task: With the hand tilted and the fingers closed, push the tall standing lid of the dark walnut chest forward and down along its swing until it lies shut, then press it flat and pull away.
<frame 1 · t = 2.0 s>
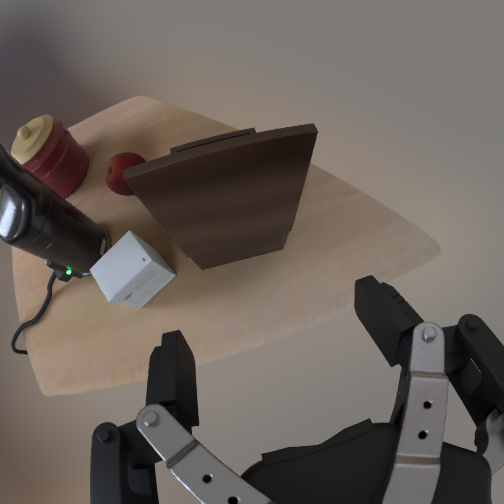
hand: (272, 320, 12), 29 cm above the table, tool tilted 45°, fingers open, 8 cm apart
chest: (229, 210, 44), on the table
apple: (136, 184, 46), on the table
lid: (231, 207, 25), point 18 cm above the table, hinge at 88.0°
kitchen canister: (67, 174, 48), on the table
small box: (149, 279, 42), on the table
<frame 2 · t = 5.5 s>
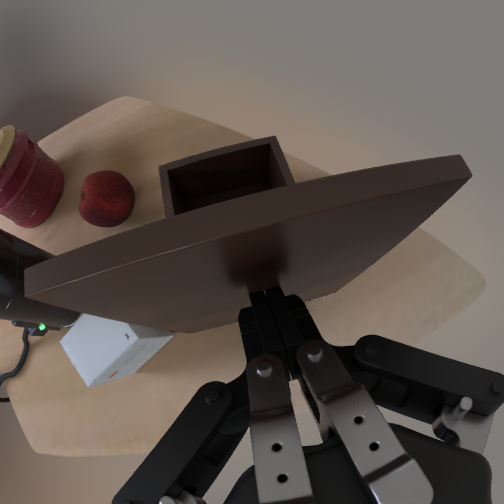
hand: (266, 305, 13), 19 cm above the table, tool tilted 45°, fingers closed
chest: (241, 247, 34), on the table
apple: (120, 210, 36), on the table
lid: (262, 289, 14), point 18 cm above the table, hinge at 87.0°, touching gripper
kitchen canister: (40, 196, 37), on the table
small box: (140, 338, 31), on the table
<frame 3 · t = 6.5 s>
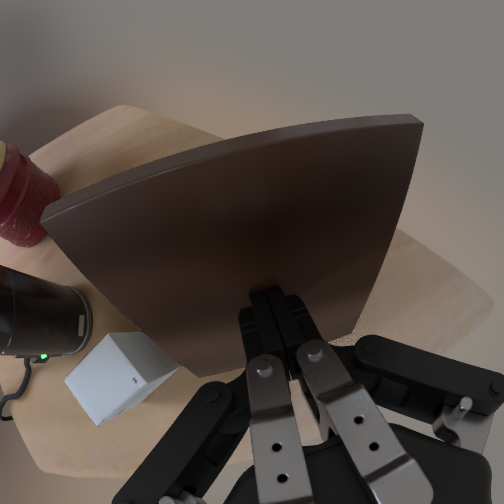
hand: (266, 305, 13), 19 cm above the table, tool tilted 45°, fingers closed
lid: (265, 302, 14), point 17 cm above the table, hinge at 65.9°, touching gripper
kitchen canister: (36, 212, 35), on the table
small box: (146, 368, 29), on the table
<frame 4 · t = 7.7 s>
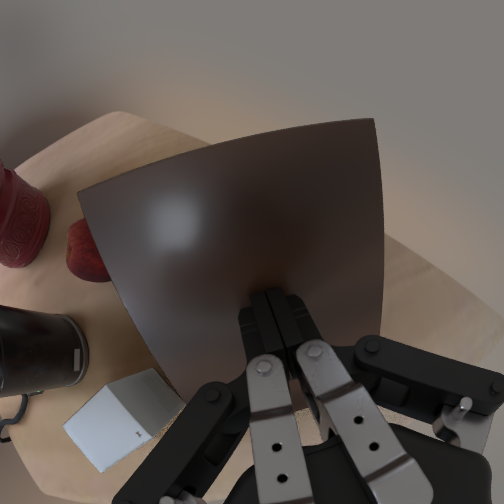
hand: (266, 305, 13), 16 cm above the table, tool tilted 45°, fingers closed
apple: (114, 257, 31), on the table
lid: (270, 322, 14), point 15 cm above the table, hinge at 40.4°, touching gripper
kitchen canister: (26, 230, 32), on the table
small box: (147, 404, 26), on the table
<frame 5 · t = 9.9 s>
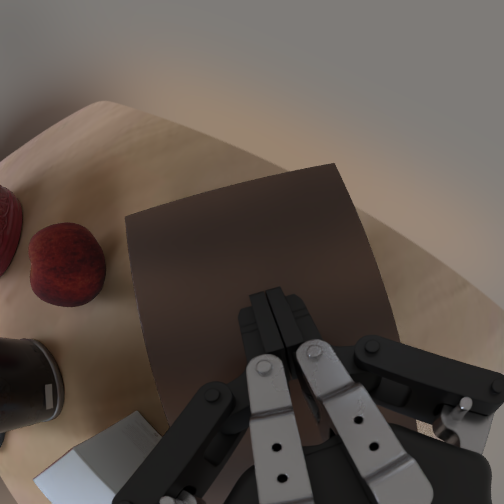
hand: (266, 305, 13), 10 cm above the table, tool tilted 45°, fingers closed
apple: (89, 274, 24), on the table
lid: (275, 345, 13), point 9 cm above the table, hinge at -0.2°, touching chest, gripper
small box: (134, 449, 19), on the table
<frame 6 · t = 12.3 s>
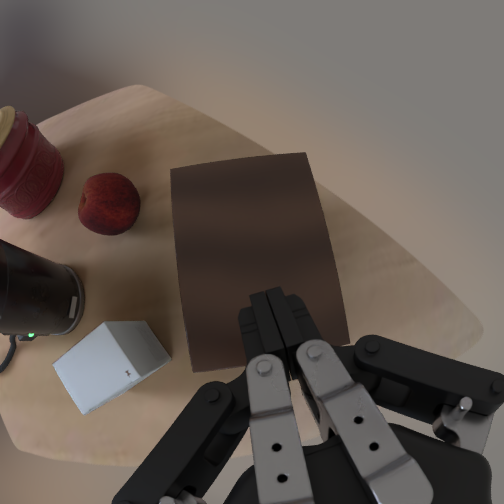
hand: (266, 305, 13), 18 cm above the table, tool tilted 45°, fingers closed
apple: (122, 215, 33), on the table
lid: (255, 252, 23), point 9 cm above the table, hinge at -0.2°, touching chest
kitchen canister: (37, 184, 34), on the table
small box: (135, 357, 29), on the table
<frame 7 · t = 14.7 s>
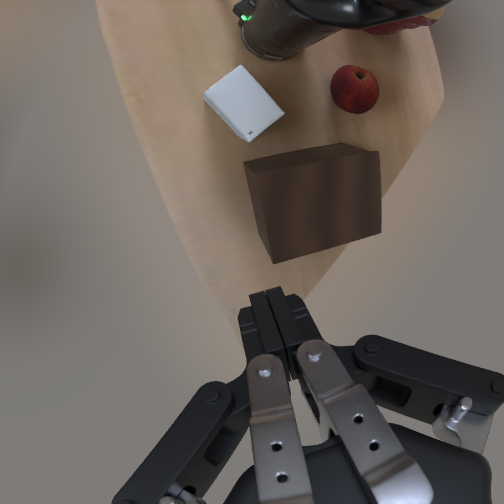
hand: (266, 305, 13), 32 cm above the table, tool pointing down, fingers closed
chest: (301, 188, 44), on the table
apple: (342, 90, 37), on the table
lid: (327, 205, 36), point 9 cm above the table, hinge at -0.2°, touching chest
kitchen canister: (367, 6, 29), on the table
small box: (234, 106, 36), on the table
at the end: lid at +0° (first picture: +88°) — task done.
